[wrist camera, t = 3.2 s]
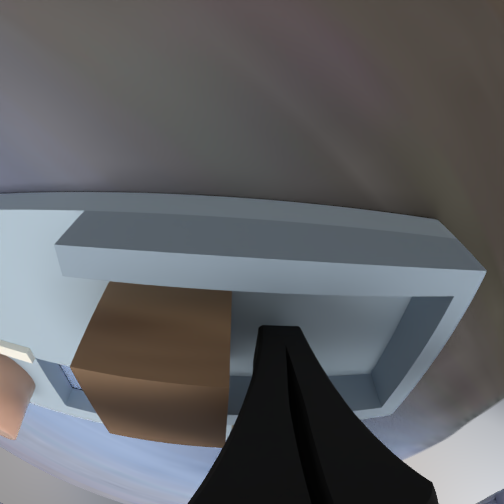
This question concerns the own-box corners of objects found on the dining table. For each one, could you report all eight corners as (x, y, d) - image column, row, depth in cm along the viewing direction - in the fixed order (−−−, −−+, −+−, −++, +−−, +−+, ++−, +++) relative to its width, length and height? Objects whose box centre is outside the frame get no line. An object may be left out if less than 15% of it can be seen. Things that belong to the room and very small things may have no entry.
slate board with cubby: (338, 417, 19) (346, 461, 16) (16, 380, 17) (1, 416, 14) (437, 219, 11) (486, 271, 8) (-68, 198, 9) (-109, 232, 6)
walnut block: (227, 358, 12) (225, 447, 9) (132, 349, 12) (109, 432, 8) (232, 281, 10) (229, 387, 7) (113, 272, 10) (69, 366, 6)
